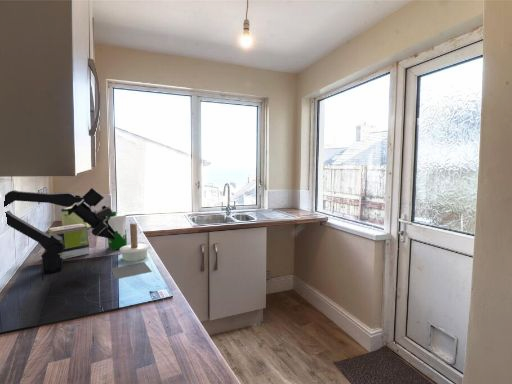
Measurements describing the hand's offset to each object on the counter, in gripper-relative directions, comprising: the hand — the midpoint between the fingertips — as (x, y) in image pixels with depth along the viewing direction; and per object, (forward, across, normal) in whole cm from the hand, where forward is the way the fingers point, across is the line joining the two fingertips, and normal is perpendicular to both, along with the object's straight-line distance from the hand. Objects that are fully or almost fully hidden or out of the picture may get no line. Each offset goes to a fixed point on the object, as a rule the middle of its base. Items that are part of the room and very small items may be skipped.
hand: (114, 235), depth 135 cm
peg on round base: (+11, 0, -1) cm, 11 cm away
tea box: (-4, +19, +24) cm, 31 cm away
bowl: (+14, 0, +2) cm, 15 cm away
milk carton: (+10, +23, +8) cm, 27 cm away
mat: (+12, -18, +3) cm, 22 cm away
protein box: (-4, +84, +29) cm, 89 cm away
